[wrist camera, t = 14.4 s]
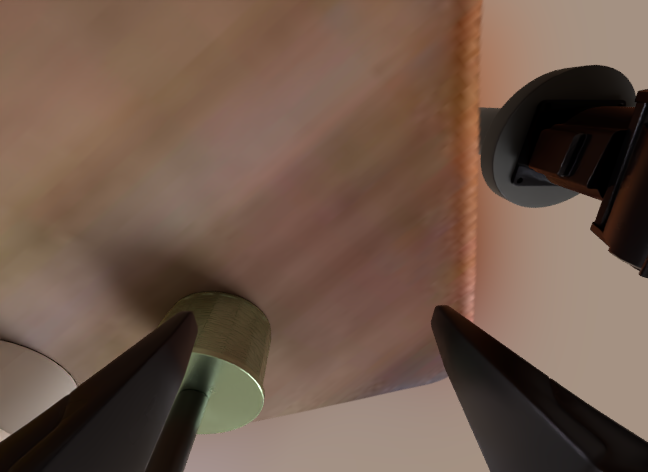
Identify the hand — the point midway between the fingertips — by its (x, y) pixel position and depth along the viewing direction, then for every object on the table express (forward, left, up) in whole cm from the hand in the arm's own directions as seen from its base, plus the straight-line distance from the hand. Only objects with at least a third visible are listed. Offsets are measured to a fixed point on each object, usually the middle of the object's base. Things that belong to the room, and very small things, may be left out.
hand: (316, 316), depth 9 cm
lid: (+10, +14, -6) cm, 18 cm away
